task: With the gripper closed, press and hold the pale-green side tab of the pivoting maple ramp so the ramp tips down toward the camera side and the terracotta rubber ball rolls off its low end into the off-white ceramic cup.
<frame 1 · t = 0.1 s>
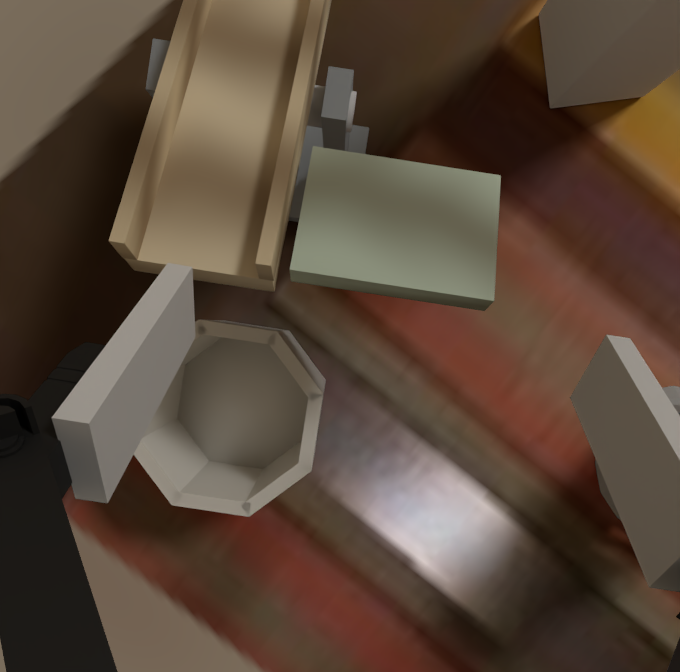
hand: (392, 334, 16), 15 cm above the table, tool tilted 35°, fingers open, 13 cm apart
milk: (588, 57, 32), on the table
lever: (346, 58, 19), point 13 cm above the table, hinge at 18.0°, touching ball
cup: (247, 399, 32), on the table
fulcrum: (281, 170, 31), on the table
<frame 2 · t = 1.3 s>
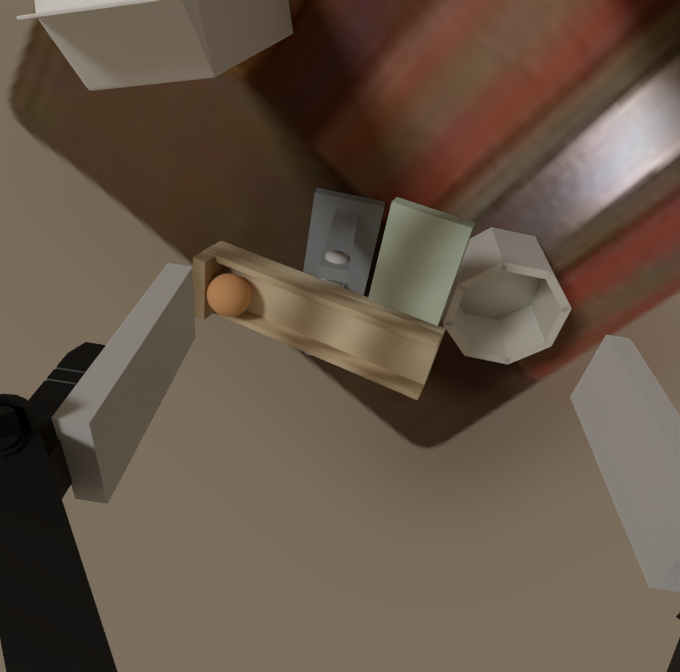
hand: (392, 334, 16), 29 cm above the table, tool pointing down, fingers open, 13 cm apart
ball: (229, 295, 37), point 11 cm above the table, tilted 35°, touching lever
lever: (319, 276, 34), point 13 cm above the table, hinge at 18.0°, touching ball
cup: (494, 277, 46), on the table
fulcrum: (341, 246, 46), on the table
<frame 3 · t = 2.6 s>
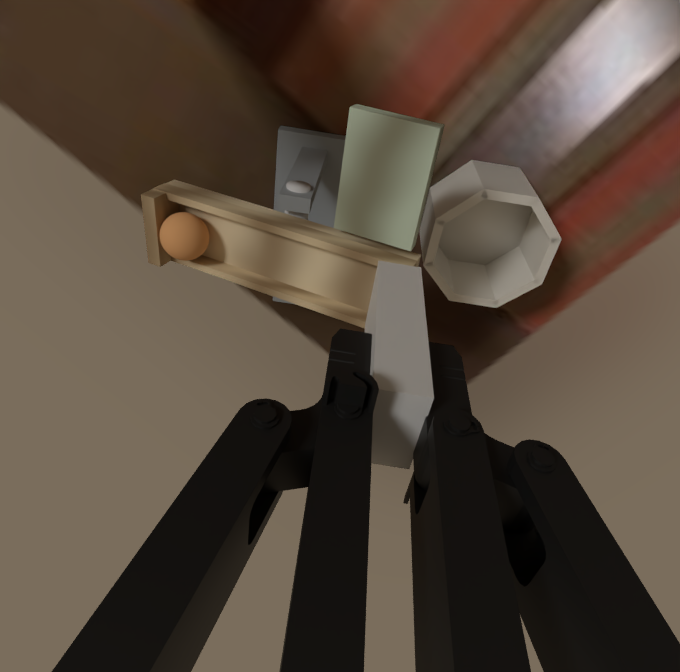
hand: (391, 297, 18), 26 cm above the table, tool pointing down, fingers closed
ball: (184, 236, 34), point 11 cm above the table, tilted 35°, touching lever
lever: (278, 205, 31), point 13 cm above the table, hinge at 18.0°, touching ball
cup: (478, 218, 43), on the table
fulcrum: (312, 191, 43), on the table
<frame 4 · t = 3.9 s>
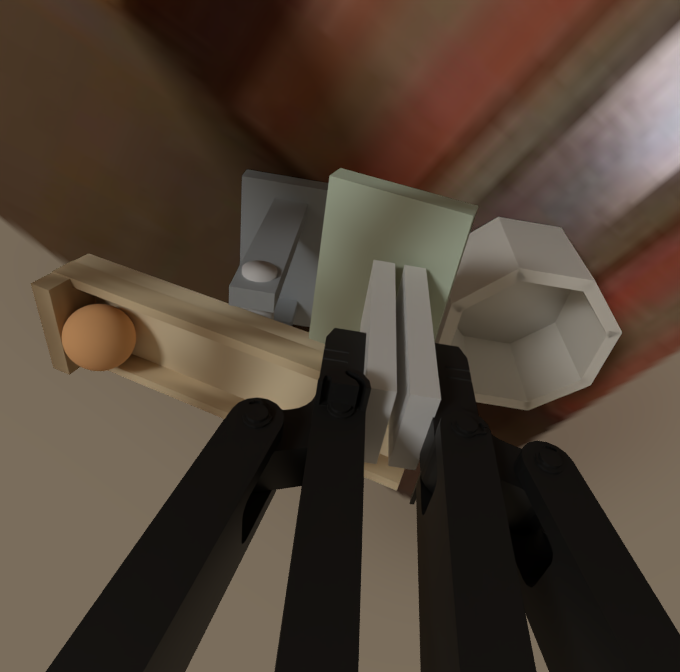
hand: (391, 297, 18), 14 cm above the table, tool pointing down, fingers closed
ball: (99, 337, 24), point 12 cm above the table, tilted 34°, touching lever
lever: (227, 305, 21), point 13 cm above the table, hinge at 16.6°, touching ball, gripper
cup: (503, 287, 33), on the table
fulcrum: (289, 251, 33), on the table
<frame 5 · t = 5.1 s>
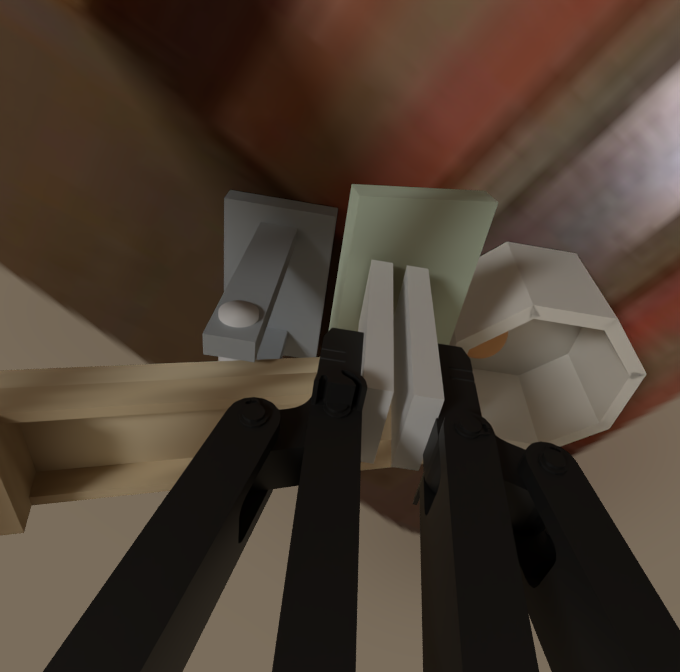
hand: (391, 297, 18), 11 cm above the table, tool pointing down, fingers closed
ball: (479, 330, 29), point 2 cm above the table, tilted 99°, touching cup
lever: (244, 365, 18), point 13 cm above the table, hinge at -18.2°, touching gripper
cup: (512, 316, 31), on the table
fulcrum: (278, 277, 30), on the table
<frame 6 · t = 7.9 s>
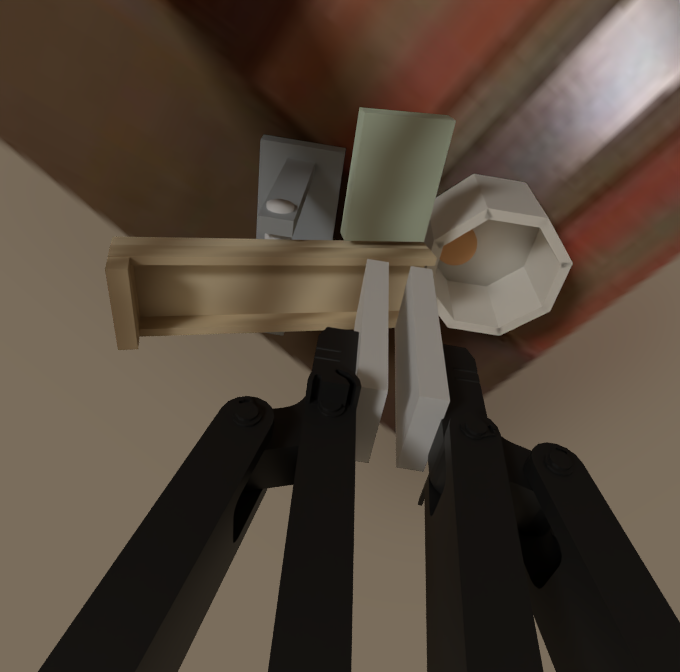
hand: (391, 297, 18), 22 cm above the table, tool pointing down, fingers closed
ball: (455, 244, 38), point 2 cm above the table, tilted 93°, touching cup
lever: (287, 233, 27), point 13 cm above the table, hinge at -18.2°
cup: (480, 236, 40), on the table
fulcrum: (298, 206, 39), on the table
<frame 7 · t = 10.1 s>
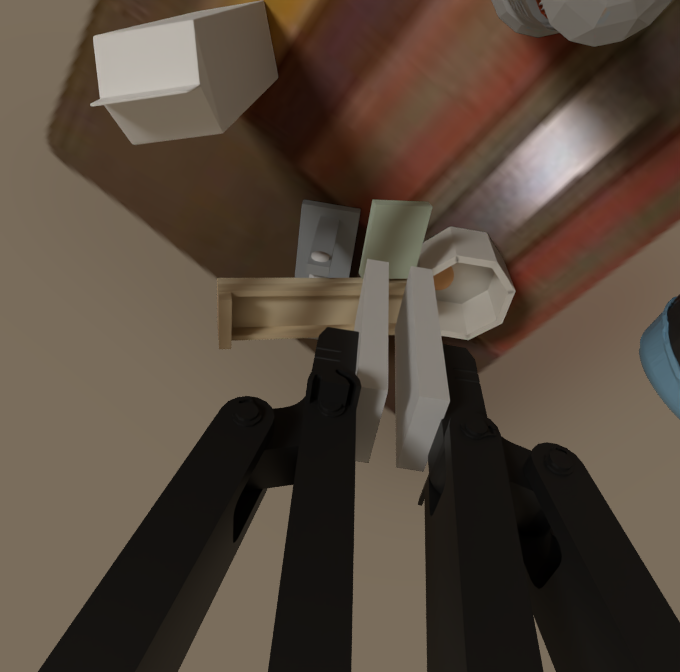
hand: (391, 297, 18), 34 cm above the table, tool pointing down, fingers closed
milk: (239, 45, 44), on the table
ball: (438, 275, 54), point 2 cm above the table, tilted 89°, touching cup
lever: (326, 275, 43), point 13 cm above the table, hinge at -18.2°
cup: (456, 268, 55), on the table
fulcrum: (326, 247, 55), on the table
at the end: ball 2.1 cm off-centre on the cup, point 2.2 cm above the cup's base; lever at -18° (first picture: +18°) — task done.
